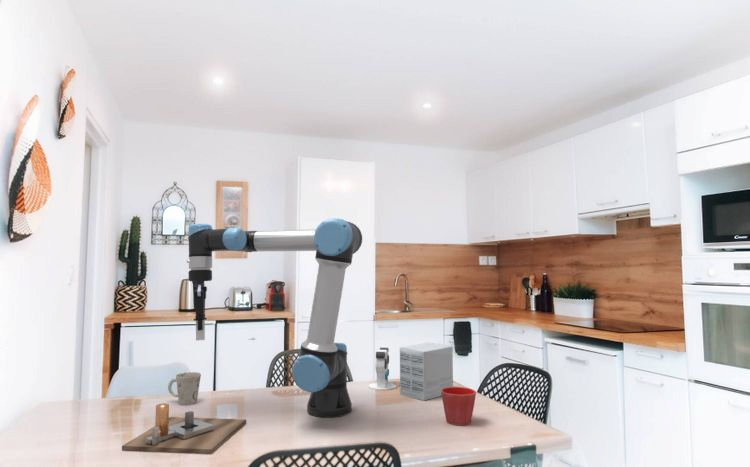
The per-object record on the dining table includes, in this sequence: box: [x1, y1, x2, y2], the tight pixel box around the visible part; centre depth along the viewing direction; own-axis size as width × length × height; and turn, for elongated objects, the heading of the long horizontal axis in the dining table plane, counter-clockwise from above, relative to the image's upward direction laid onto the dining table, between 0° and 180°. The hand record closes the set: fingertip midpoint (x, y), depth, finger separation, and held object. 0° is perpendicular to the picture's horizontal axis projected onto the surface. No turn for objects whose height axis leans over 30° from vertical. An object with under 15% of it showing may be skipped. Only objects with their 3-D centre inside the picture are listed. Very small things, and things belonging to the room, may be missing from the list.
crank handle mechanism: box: [145, 402, 214, 444], centre depth 138 cm, size 18×10×9 cm, turn 144°
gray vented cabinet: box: [399, 342, 454, 402], centre depth 188 cm, size 17×13×18 cm
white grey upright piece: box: [368, 347, 397, 391], centre depth 199 cm, size 12×11×15 cm
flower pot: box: [441, 386, 477, 426], centre depth 154 cm, size 11×11×10 cm
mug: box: [167, 371, 202, 406], centre depth 176 cm, size 8×13×10 cm, turn 78°
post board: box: [121, 410, 247, 455], centre depth 141 cm, size 25×25×7 cm
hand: (200, 339), depth 162 cm, fingers closed
